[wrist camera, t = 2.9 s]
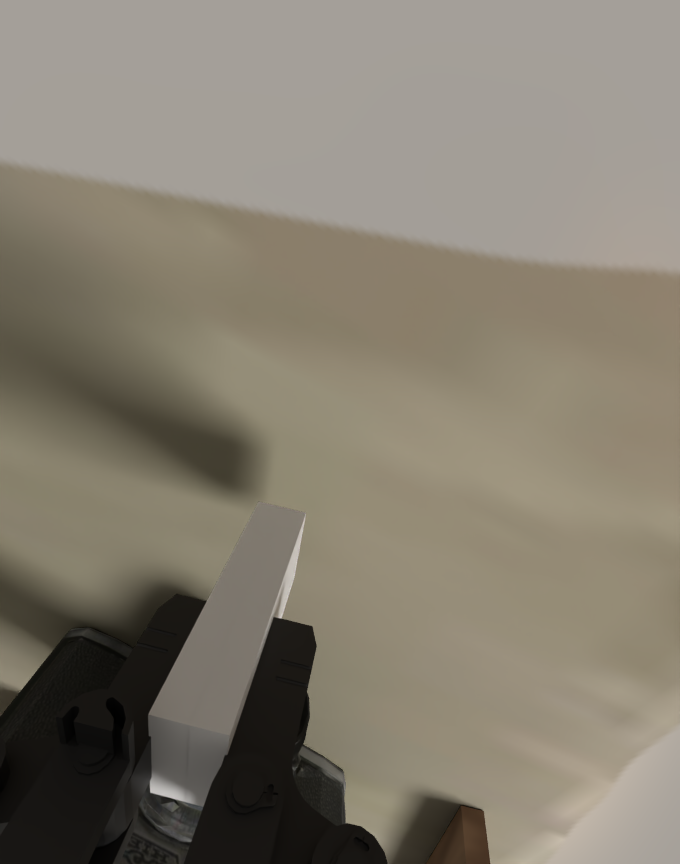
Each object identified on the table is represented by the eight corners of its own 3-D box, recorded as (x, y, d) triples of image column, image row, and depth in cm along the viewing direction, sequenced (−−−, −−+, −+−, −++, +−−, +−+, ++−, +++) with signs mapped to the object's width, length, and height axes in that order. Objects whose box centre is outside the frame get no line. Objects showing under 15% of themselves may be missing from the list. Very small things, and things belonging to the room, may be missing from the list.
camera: (432, 710, 23) (498, 1002, 14) (326, 816, 25) (318, 1135, 16) (123, 524, 20) (-73, 728, 11) (33, 661, 22) (-200, 937, 13)
